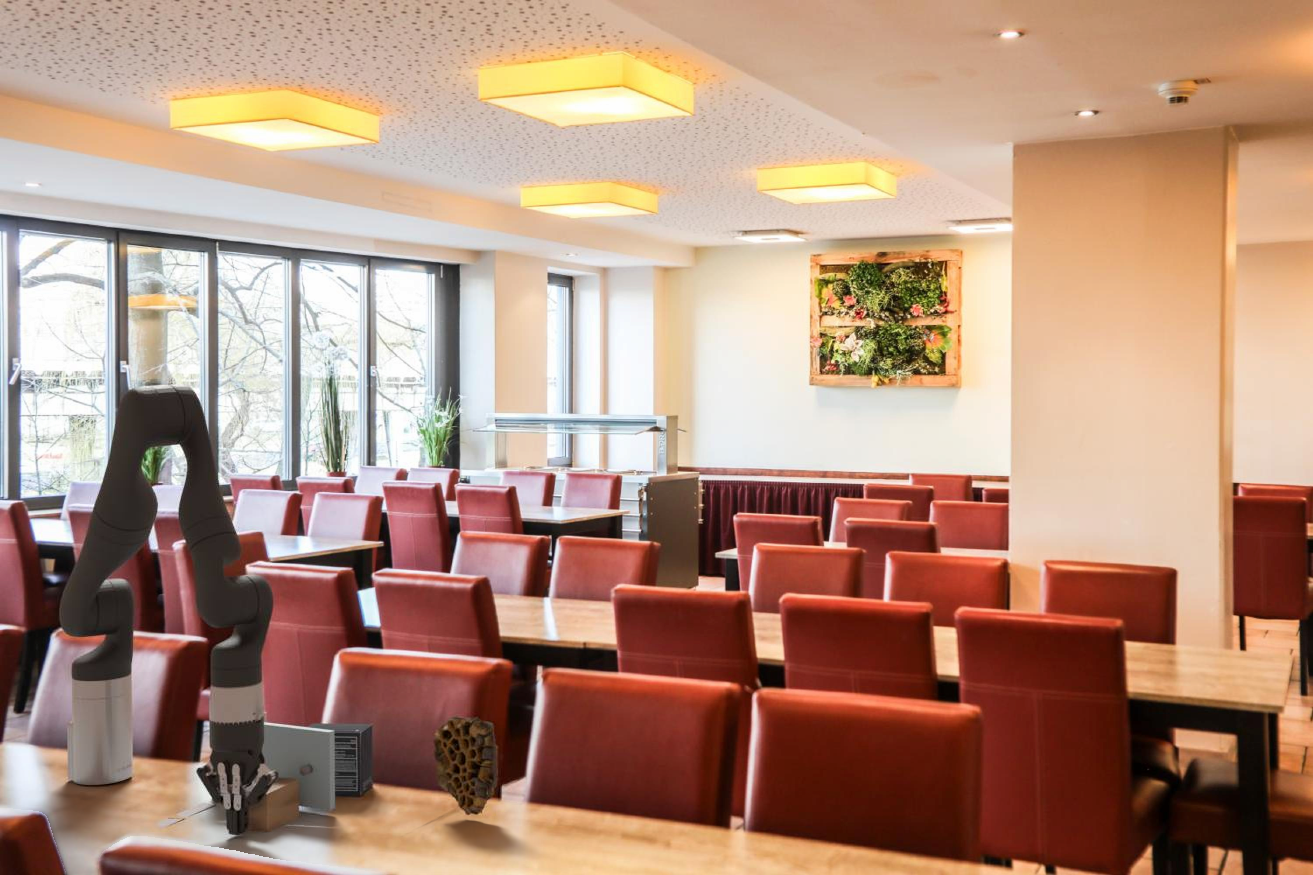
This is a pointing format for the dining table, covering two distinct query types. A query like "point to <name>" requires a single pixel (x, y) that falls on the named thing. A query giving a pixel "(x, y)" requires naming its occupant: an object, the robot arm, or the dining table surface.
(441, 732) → the brown wasp nest
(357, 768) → the small box
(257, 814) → the block
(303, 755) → the door
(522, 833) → the dining table surface
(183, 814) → the door frame
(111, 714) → the robot arm
